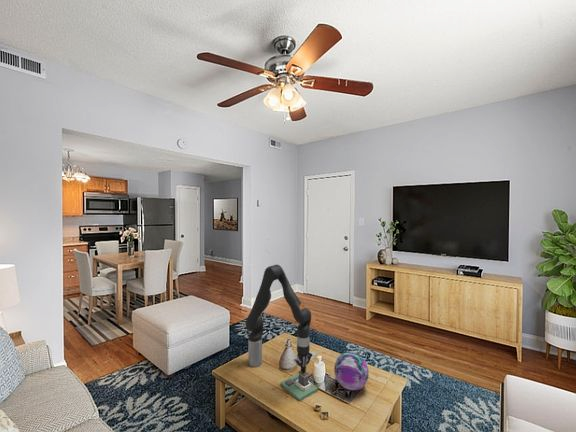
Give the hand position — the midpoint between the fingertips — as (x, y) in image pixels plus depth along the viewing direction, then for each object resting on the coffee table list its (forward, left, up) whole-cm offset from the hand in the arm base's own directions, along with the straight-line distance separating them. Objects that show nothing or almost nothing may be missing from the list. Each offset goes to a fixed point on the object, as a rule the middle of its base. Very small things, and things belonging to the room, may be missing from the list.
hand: (303, 371), depth 161 cm
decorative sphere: (+17, +23, -10) cm, 30 cm away
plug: (0, 0, -8) cm, 8 cm away
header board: (-2, -2, -10) cm, 10 cm away
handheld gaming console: (-24, +23, -10) cm, 35 cm away
